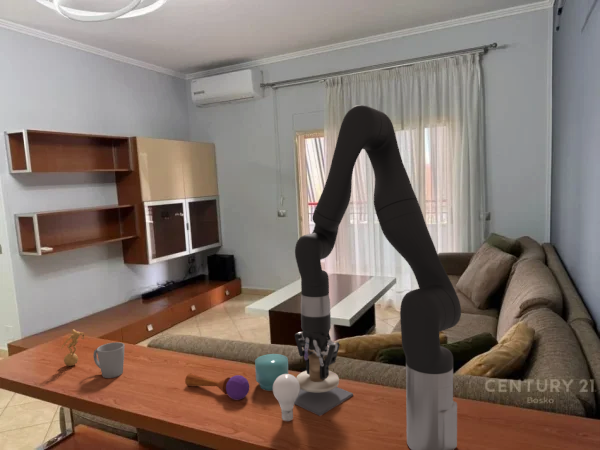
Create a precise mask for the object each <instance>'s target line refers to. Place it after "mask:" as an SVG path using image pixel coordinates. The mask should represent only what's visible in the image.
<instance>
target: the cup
mask: <svg viewBox="0 0 600 450" xmlns="http://www.w3.org/2000/svg"><path fill="white" fill-rule="evenodd" d="M93 361H94V363H95V365H96V366H97V367H98V368H99V369H100V372H101V376H102V378H105V379H113V378H117V377H119V376H122V374H123V373H124V364H125V363H124V362H125V343H123V342H120V341H119V342H117V341H116V342H108V343H105V344H104V343H103V344H102V345H100V346H98V347H97V348H96V349H95V350H94V351H93Z"/></svg>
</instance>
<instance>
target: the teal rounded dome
mask: <svg viewBox="0 0 600 450" xmlns="http://www.w3.org/2000/svg"><path fill="white" fill-rule="evenodd" d="M254 364H255V365H254V366H255V367H254V368H255V380H256V382H257V383H258V384H259V388H260V389H262V390H263V391H268V392H273V384H274V381H275V380H276V378H277V377H279V376H280V375H282V374H289V359H288V357H287V356H286V355H283V354H280V353H267V354H264V355H261V356H257V358H256V359H254Z"/></svg>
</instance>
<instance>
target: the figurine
mask: <svg viewBox="0 0 600 450" xmlns="http://www.w3.org/2000/svg"><path fill="white" fill-rule="evenodd" d="M80 335H82V337H81V339H82V340H85V332H82V331H81V332H80V331H77V330H76V329H74V328H73V329H71V335H70V336H69V337H68V338H67V339H66V341H64V343H63V345H62V346H61V350H62V349H63V348H64V346H65V345H66V344H67V343H68V341H70V340H71V341H70V342H69V344H68V345H67V349H68V350H69V353H67V354H66V355H65V356H64V358H63V363H64V364H65V366H68V367H72V366H74V365H76V364H77V363H78V360H79V356H78V355H77V354H76V353H75V352H76V351H77V346H76V345H77V344H78V342H79V340H78V339H79V338H80ZM71 347H73V348H71ZM73 349H74V350H73Z"/></svg>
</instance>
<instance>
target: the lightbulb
mask: <svg viewBox="0 0 600 450" xmlns="http://www.w3.org/2000/svg"><path fill="white" fill-rule="evenodd" d="M296 377H297V376H294V374H290V373H288V374H282V375H280V376H279V377H277V378H276V380H275V381H274V384H273V391H272V393H273V395H274V398H275V399H276V400H277V402H278V404H279V407H280V409H281V420H282V421H284V422H290V421H292V420H293V419H294V407H295V404H294V402H295V400H296V399H297V397H298V395H299V392H300V384H299V381H298V380H297V378H296Z"/></svg>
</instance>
